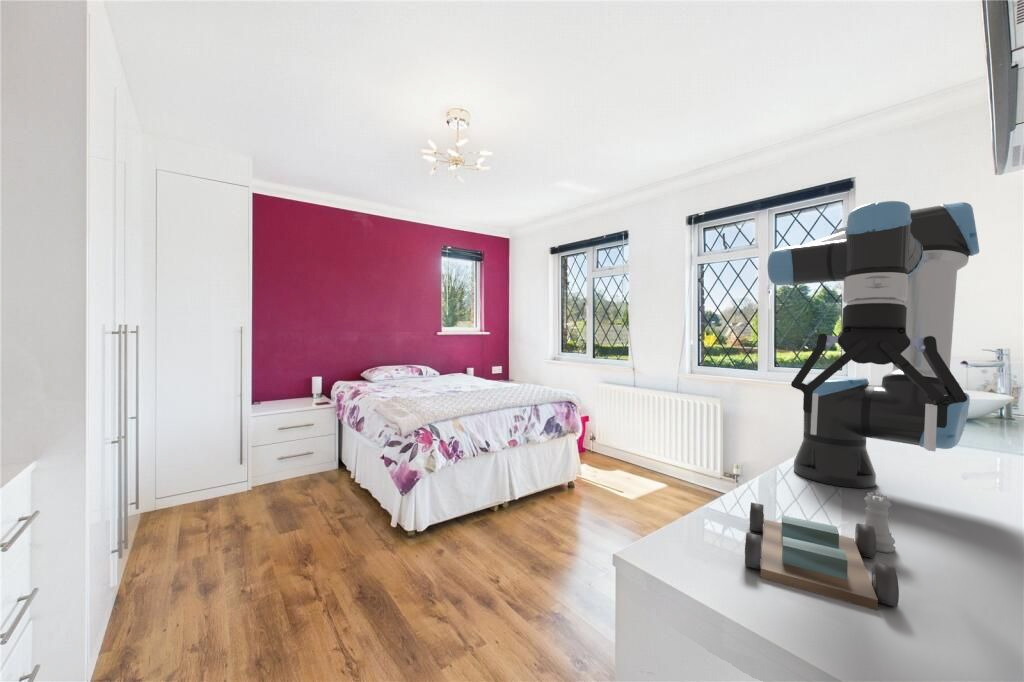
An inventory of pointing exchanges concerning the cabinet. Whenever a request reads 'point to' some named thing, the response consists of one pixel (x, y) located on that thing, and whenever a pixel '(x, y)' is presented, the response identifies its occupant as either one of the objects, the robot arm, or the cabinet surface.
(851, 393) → the robot arm
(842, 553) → the chassis
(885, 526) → the rook chess piece
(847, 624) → the cabinet surface
